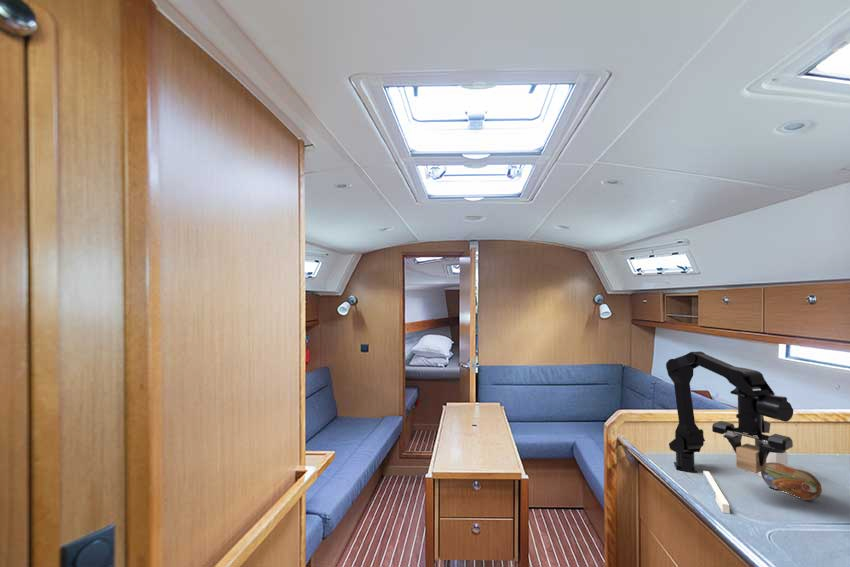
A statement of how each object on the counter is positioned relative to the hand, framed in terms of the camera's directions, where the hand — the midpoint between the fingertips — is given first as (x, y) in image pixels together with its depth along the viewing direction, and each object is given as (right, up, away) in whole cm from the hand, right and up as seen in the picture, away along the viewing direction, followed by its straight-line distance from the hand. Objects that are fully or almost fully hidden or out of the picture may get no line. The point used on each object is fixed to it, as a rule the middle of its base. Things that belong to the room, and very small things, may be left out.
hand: (751, 462), depth 123 cm
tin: (+16, -12, +4) cm, 20 cm away
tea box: (0, -2, 0) cm, 2 cm away
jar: (+20, -12, +16) cm, 28 cm away
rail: (-9, -12, +3) cm, 15 cm away
